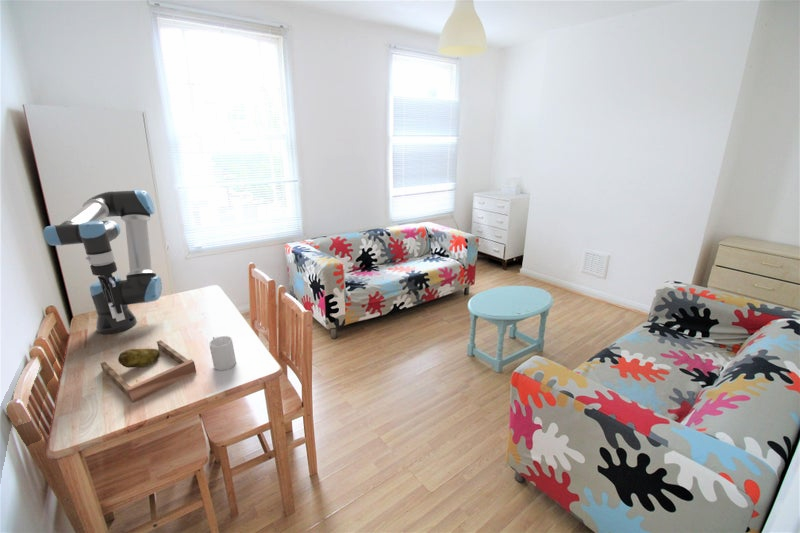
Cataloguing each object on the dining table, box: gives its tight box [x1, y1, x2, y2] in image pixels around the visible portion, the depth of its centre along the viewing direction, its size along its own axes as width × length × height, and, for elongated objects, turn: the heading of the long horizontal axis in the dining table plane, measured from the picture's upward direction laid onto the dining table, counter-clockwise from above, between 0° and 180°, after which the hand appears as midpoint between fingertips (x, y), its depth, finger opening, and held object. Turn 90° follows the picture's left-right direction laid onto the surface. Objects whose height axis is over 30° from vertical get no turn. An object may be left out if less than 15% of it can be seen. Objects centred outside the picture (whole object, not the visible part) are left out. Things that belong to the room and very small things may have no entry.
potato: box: [117, 348, 161, 369], centre depth 143 cm, size 8×13×8 cm, turn 124°
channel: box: [100, 339, 197, 403], centre depth 140 cm, size 30×21×5 cm
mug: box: [208, 335, 237, 371], centre depth 144 cm, size 12×8×10 cm, turn 43°
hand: (118, 318), depth 146 cm, fingers open, 4 cm apart
